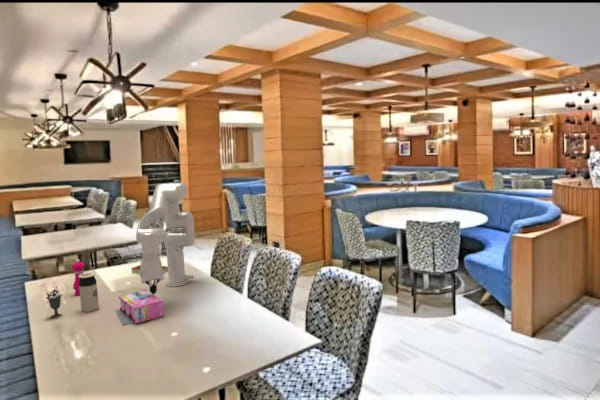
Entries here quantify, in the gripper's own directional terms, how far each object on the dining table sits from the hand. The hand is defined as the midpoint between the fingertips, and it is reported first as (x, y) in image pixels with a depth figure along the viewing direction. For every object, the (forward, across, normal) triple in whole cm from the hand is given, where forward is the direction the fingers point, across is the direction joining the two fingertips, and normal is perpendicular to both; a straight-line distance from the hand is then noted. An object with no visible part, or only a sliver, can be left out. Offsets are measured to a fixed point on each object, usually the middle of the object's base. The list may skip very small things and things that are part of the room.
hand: (153, 293), depth 216 cm
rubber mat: (+9, +9, 0) cm, 12 cm away
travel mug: (+9, +27, -21) cm, 36 cm away
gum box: (+4, 0, 0) cm, 5 cm away
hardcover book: (+9, -13, -71) cm, 72 cm away
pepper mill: (+9, +29, -51) cm, 60 cm away
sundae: (+9, +42, -21) cm, 48 cm away
